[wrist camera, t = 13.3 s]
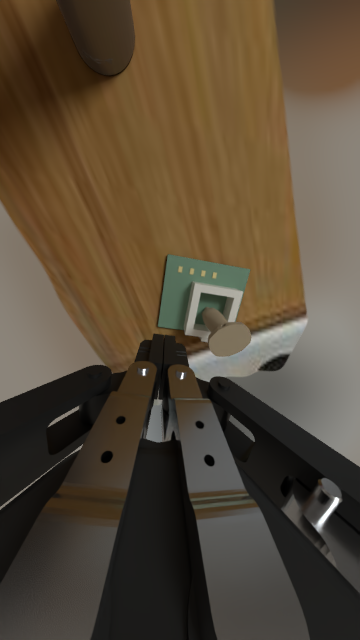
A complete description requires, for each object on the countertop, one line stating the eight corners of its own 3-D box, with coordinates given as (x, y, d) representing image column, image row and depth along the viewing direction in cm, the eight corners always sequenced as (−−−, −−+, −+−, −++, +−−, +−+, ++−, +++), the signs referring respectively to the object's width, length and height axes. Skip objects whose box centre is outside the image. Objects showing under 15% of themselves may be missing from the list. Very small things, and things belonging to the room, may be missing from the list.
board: (167, 254, 36) (167, 254, 35) (248, 269, 38) (250, 269, 37) (158, 325, 41) (157, 326, 40) (229, 334, 43) (231, 336, 42)
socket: (192, 281, 38) (195, 283, 34) (236, 288, 39) (243, 291, 35) (182, 331, 41) (184, 339, 37) (222, 337, 42) (228, 344, 39)
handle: (224, 316, 41) (254, 345, 26) (199, 327, 41) (215, 361, 27) (217, 297, 39) (245, 318, 25) (191, 309, 40) (204, 335, 25)
